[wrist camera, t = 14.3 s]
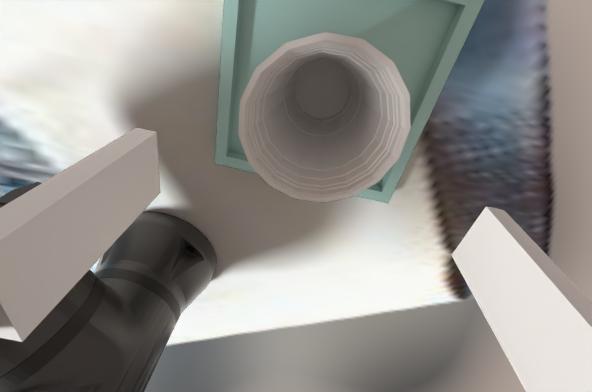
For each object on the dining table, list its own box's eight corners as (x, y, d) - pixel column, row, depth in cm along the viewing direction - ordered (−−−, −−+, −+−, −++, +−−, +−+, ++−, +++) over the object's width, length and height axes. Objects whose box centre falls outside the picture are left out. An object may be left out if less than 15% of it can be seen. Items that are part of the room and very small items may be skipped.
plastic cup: (375, 142, 30) (400, 207, 20) (274, 143, 31) (249, 204, 21) (388, 22, 24) (433, 27, 14) (264, 28, 25) (222, 36, 15)
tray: (385, 193, 34) (388, 203, 32) (220, 156, 33) (214, 163, 31) (477, -8, 23) (489, -10, 21) (235, -71, 22) (228, -78, 21)
